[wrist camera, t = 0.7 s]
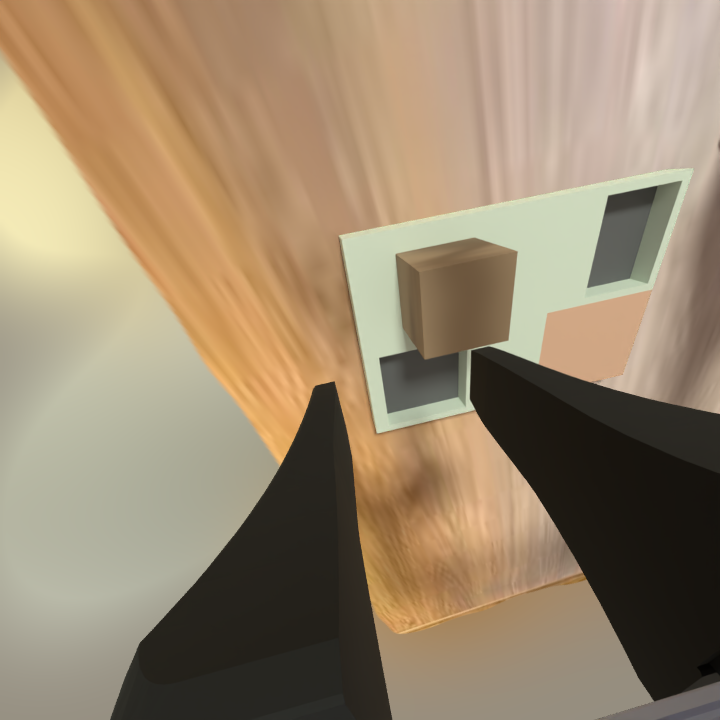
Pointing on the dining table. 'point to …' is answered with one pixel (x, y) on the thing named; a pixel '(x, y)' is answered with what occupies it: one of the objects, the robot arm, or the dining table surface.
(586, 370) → the board
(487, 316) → the block
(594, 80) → the dining table surface
